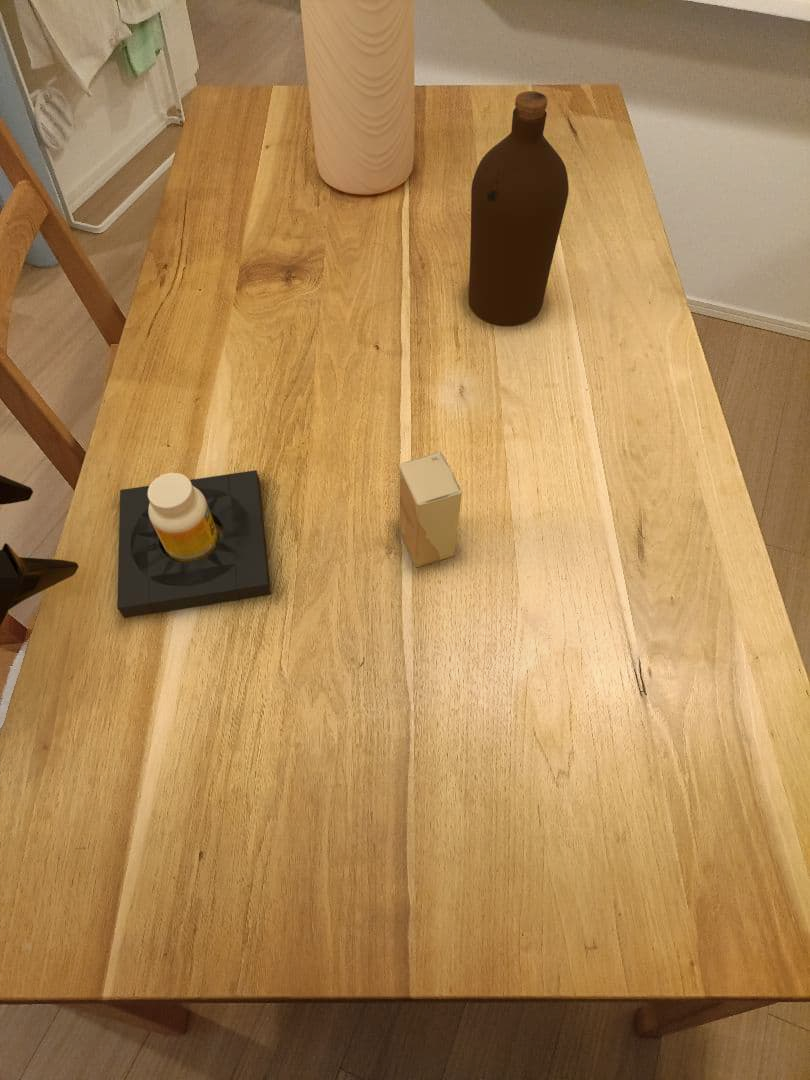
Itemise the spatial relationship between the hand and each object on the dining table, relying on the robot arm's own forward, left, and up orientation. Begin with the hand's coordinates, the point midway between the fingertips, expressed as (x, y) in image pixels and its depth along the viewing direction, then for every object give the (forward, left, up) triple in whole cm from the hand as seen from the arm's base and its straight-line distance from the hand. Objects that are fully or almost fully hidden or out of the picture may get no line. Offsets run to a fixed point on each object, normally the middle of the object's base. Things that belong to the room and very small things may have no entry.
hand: (52, 530), depth 63 cm
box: (+32, +1, -13) cm, 34 cm away
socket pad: (+9, +5, -13) cm, 17 cm away
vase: (+36, +67, -13) cm, 77 cm away
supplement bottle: (+9, +5, -13) cm, 17 cm away
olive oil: (+49, +35, -13) cm, 62 cm away
